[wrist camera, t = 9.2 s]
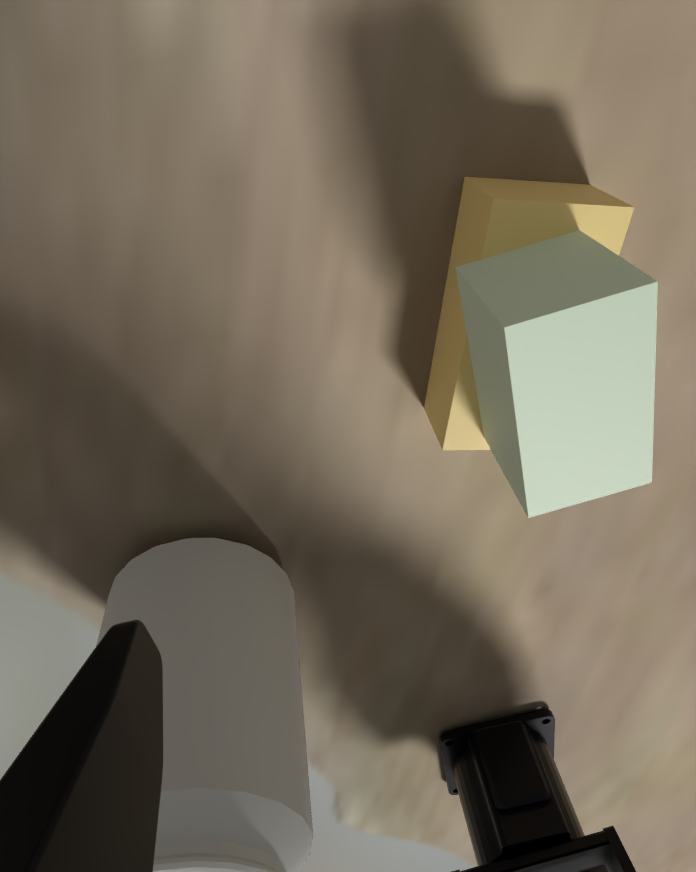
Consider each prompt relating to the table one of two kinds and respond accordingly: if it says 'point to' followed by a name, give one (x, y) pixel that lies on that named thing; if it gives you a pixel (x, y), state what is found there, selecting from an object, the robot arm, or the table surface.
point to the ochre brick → (488, 236)
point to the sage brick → (563, 368)
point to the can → (223, 705)
